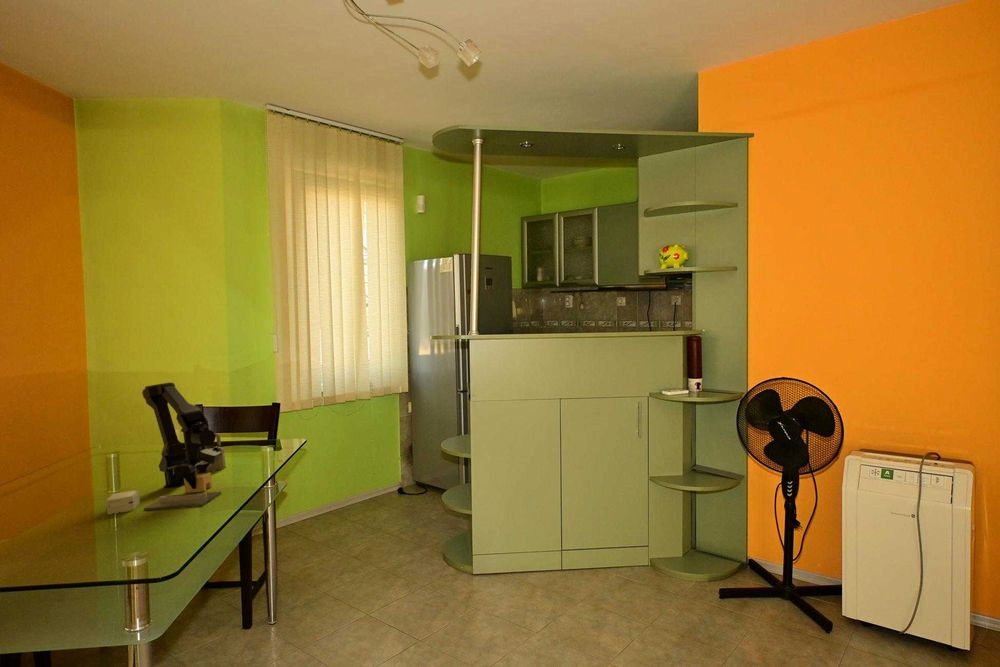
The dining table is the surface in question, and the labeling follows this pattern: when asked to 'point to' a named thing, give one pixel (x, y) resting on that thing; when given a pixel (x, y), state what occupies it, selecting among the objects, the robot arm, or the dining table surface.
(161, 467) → the robot arm
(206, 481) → the block
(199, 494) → the plate
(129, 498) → the small box
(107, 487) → the dining table surface
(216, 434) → the padlock
